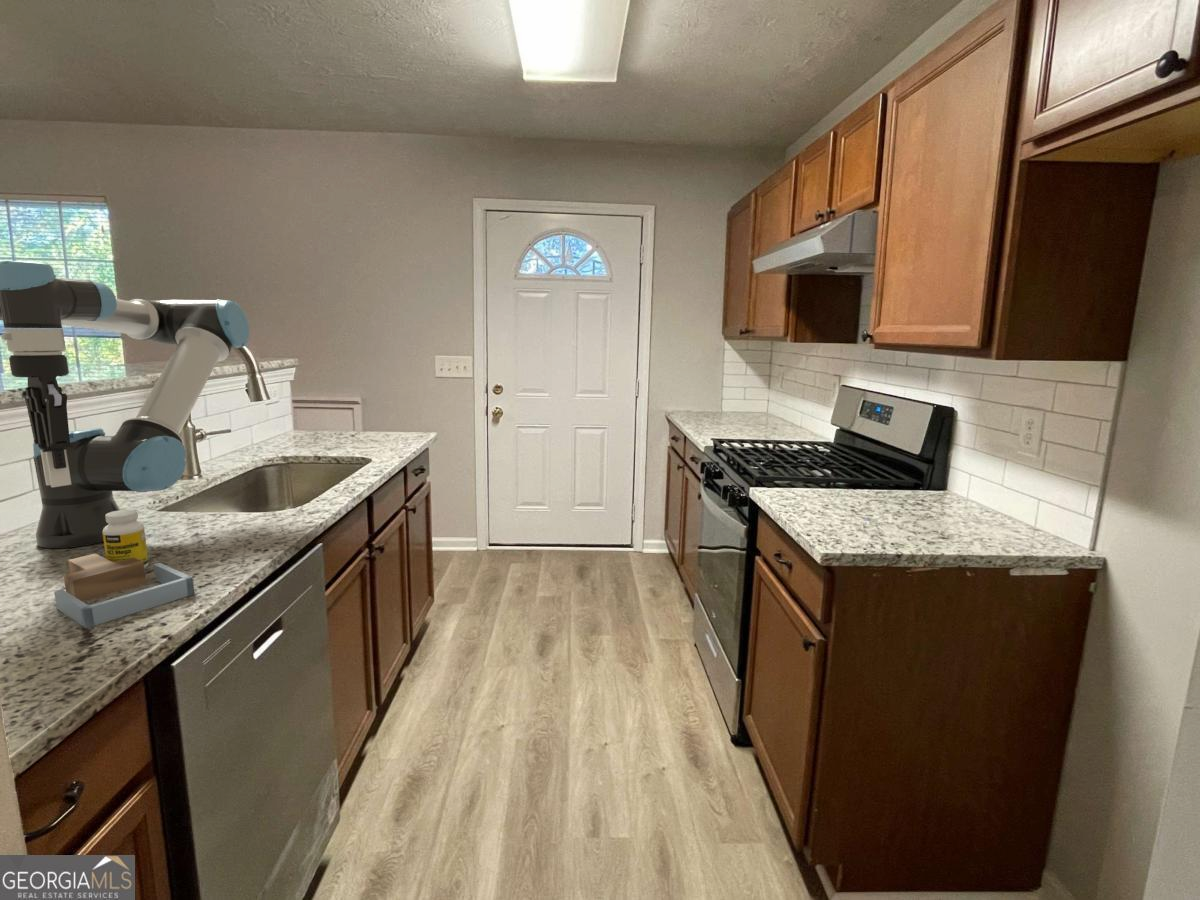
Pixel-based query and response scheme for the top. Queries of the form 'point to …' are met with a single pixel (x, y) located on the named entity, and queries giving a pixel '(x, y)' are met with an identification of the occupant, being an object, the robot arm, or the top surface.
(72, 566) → the t block
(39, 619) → the top surface
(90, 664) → the top surface
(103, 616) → the dock
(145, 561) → the pill bottle
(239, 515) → the top surface
